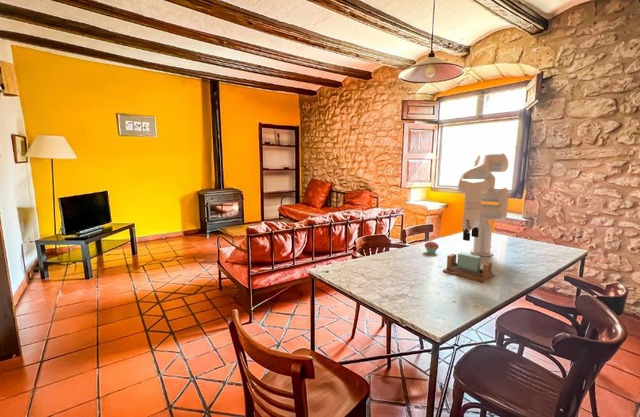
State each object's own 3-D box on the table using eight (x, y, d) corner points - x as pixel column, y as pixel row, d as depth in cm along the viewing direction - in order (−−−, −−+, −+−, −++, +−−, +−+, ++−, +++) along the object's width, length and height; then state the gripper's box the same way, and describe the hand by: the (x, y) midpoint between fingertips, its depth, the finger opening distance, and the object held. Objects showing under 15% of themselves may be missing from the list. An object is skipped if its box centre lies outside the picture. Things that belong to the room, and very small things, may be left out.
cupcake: (433, 255, 185) (434, 236, 183) (421, 252, 192) (422, 234, 190) (440, 252, 191) (441, 234, 189) (428, 250, 197) (429, 232, 195)
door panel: (460, 268, 159) (461, 252, 158) (480, 273, 152) (481, 256, 150) (456, 270, 157) (457, 253, 155) (476, 275, 149) (478, 258, 148)
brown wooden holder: (455, 265, 166) (456, 252, 165) (494, 275, 151) (495, 260, 150) (442, 271, 157) (443, 257, 156) (483, 282, 142) (484, 266, 141)
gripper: (472, 202, 157) (470, 234, 160) (457, 206, 146) (455, 240, 149) (487, 204, 152) (485, 236, 154) (472, 208, 141) (470, 243, 143)
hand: (470, 238), depth 152 cm, fingers open, 9 cm apart
